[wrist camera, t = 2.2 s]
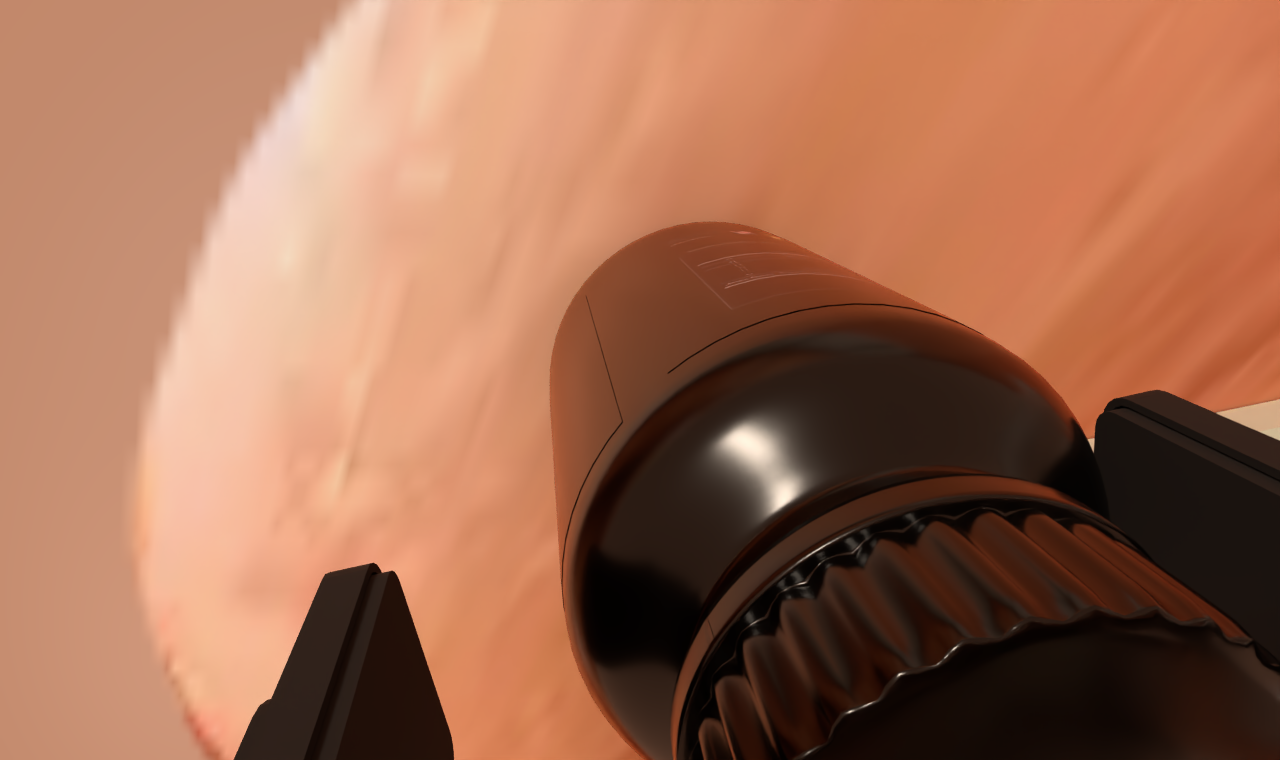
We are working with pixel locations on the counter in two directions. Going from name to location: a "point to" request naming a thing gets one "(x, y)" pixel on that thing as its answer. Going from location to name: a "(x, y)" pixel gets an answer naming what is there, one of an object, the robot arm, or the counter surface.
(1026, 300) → the counter surface
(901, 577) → the supplement bottle
